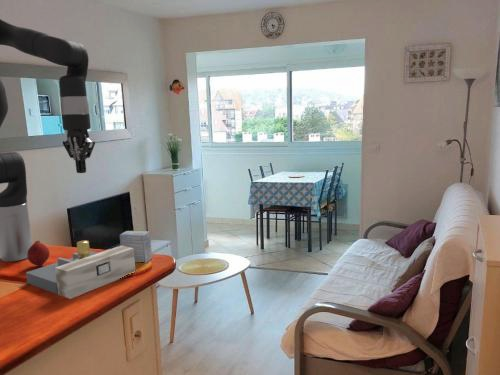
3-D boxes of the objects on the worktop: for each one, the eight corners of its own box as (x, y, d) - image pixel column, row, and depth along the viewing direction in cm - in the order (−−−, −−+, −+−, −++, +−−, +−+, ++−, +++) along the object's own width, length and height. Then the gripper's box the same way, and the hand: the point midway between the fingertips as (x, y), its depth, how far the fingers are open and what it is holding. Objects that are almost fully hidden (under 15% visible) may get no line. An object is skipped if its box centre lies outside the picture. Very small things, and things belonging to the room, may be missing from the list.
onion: (41, 270, 121) (38, 243, 120) (24, 269, 122) (20, 243, 121) (54, 263, 127) (51, 237, 126) (38, 262, 128) (34, 237, 127)
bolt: (73, 267, 113) (71, 241, 112) (83, 263, 116) (81, 239, 115) (99, 274, 107) (96, 248, 106) (108, 270, 109) (106, 244, 108)
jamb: (58, 294, 104) (54, 267, 102) (123, 269, 120) (121, 245, 119) (69, 299, 101) (66, 271, 100) (135, 272, 117) (133, 248, 116)
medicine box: (152, 258, 128) (150, 231, 127) (146, 263, 124) (143, 235, 122) (128, 257, 130) (126, 230, 128) (121, 262, 125) (119, 234, 124)
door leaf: (27, 283, 112) (24, 264, 111) (92, 260, 128) (91, 244, 127) (57, 294, 104) (54, 274, 103) (122, 268, 120) (121, 251, 119)
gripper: (50, 114, 122) (57, 173, 125) (77, 112, 114) (83, 175, 117) (73, 113, 128) (79, 170, 131) (100, 112, 120) (106, 172, 123)
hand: (81, 172), depth 124 cm, fingers closed
